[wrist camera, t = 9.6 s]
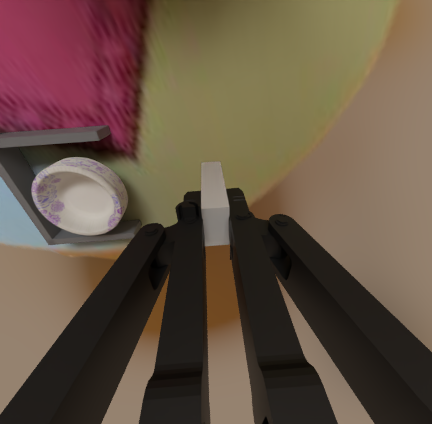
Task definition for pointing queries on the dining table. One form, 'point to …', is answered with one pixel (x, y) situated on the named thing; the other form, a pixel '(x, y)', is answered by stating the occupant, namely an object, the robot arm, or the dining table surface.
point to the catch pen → (23, 176)
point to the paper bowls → (80, 196)
